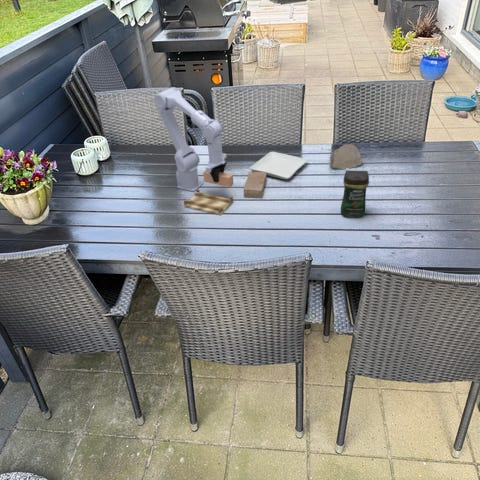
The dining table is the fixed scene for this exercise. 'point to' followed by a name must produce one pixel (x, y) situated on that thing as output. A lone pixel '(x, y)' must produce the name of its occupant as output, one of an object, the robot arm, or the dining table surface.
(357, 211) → the coffee jar
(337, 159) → the pumice stone
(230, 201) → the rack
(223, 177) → the clay strip
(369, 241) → the dining table surface
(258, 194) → the brick
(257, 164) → the salad plate
